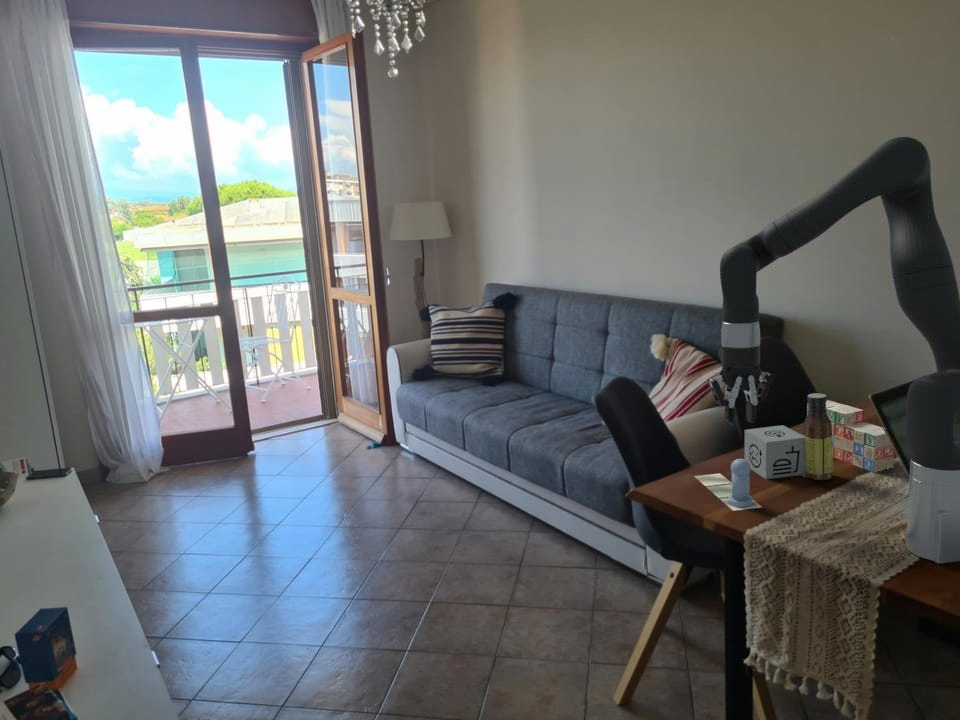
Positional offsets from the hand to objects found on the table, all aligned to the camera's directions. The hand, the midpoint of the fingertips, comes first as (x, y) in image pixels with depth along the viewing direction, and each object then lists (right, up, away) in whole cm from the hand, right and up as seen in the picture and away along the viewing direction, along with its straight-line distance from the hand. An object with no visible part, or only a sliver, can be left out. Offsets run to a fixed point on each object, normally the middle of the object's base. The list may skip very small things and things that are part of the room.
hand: (740, 422), depth 150 cm
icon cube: (+16, -14, +21) cm, 30 cm away
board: (+1, -17, +11) cm, 20 cm away
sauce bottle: (+24, -14, +17) cm, 33 cm away
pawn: (+1, -18, +4) cm, 18 cm away
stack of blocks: (+37, -11, +27) cm, 47 cm away
